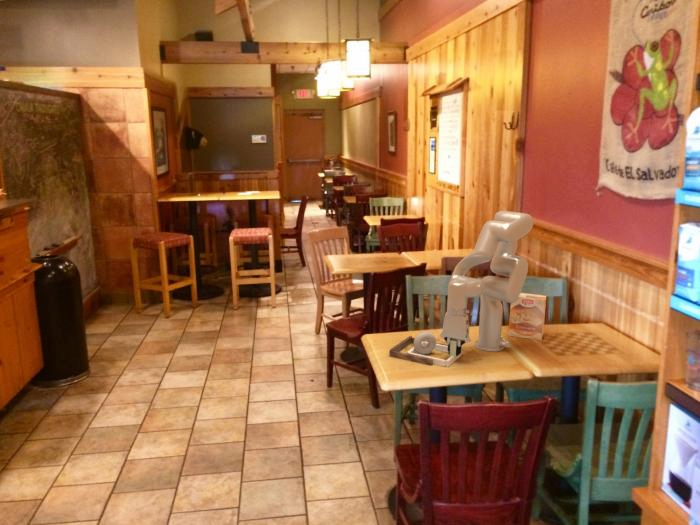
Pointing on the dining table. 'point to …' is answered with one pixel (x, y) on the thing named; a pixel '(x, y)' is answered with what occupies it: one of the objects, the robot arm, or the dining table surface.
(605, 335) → the dining table surface
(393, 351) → the brown piece
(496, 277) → the robot arm
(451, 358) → the white open rectangular frame
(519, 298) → the coffeecake box
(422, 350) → the grey wheel
